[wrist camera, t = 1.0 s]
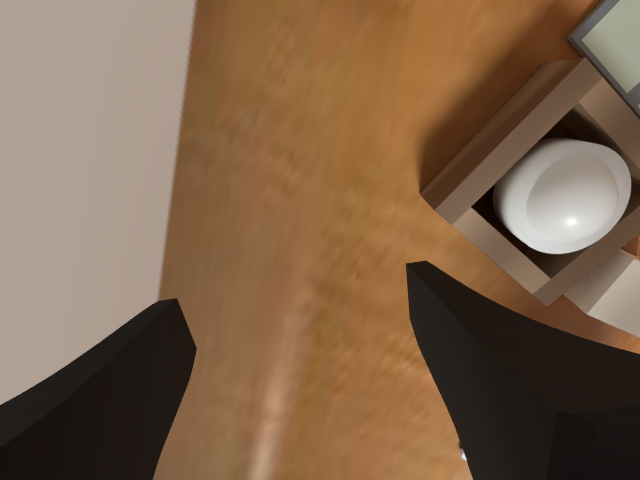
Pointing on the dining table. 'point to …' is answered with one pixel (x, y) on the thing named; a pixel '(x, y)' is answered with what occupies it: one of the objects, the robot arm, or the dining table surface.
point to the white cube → (611, 292)
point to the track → (613, 46)
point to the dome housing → (515, 141)
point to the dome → (563, 195)
